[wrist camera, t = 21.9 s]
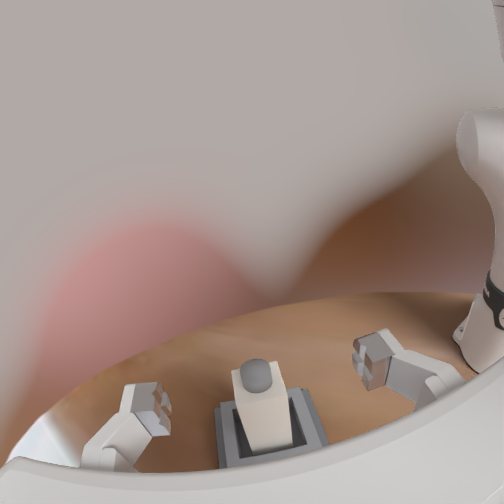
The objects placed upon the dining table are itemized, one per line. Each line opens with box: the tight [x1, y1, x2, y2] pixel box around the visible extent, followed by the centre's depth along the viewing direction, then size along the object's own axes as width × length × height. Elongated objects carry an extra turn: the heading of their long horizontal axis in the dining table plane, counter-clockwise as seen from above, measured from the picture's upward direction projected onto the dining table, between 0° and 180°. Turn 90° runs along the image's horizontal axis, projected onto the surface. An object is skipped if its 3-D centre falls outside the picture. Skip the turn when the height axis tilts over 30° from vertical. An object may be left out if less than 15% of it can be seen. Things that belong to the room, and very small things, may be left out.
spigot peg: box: [231, 359, 293, 456], centre depth 29 cm, size 5×5×14 cm
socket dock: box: [214, 386, 330, 469], centre depth 32 cm, size 14×14×4 cm
